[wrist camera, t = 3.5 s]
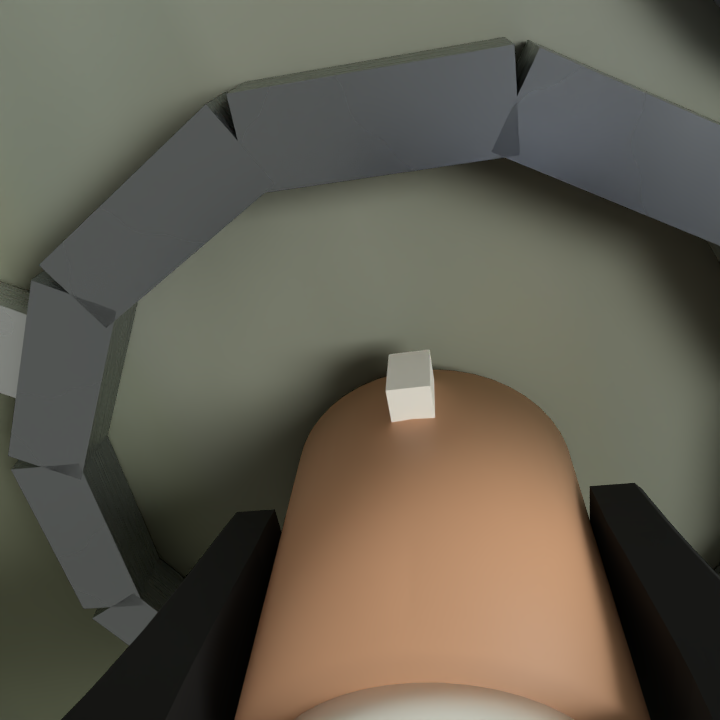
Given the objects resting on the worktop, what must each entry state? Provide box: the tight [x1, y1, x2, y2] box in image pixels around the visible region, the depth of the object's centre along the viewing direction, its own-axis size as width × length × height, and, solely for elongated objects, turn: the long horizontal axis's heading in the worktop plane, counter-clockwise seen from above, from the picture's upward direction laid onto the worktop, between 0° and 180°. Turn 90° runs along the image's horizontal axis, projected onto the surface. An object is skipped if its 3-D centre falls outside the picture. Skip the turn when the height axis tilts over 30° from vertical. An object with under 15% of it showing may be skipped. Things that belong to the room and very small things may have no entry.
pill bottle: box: [234, 349, 651, 720], centre depth 9 cm, size 6×5×5 cm
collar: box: [0, 37, 720, 646], centre depth 11 cm, size 17×13×1 cm
